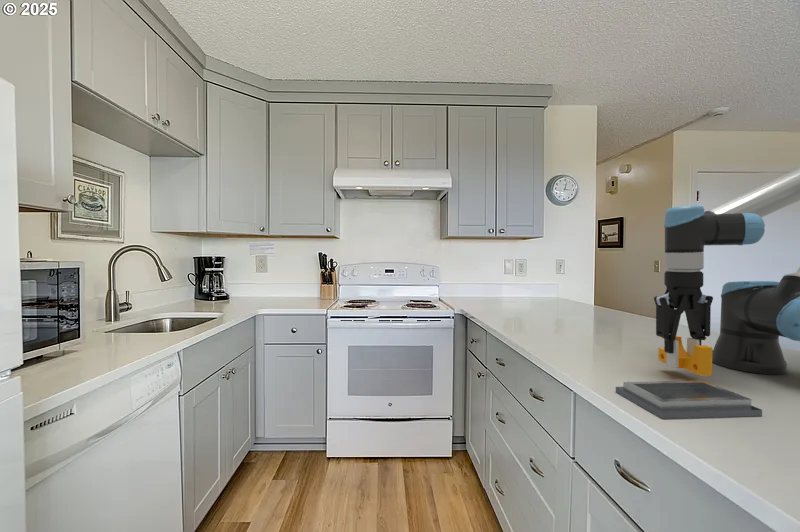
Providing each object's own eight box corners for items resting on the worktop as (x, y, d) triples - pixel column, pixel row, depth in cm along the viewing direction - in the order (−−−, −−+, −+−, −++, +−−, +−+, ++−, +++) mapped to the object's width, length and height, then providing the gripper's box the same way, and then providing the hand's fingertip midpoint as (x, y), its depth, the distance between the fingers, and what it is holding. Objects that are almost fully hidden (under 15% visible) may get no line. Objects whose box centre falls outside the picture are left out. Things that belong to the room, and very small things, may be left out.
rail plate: (700, 390, 83) (700, 378, 83) (761, 416, 70) (762, 402, 70) (615, 392, 81) (615, 380, 81) (662, 419, 68) (663, 404, 68)
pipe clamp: (658, 360, 96) (658, 335, 96) (675, 360, 96) (676, 335, 96) (692, 375, 84) (692, 347, 84) (712, 375, 84) (712, 347, 84)
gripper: (703, 268, 94) (702, 359, 95) (637, 270, 93) (637, 362, 94) (732, 270, 87) (731, 368, 88) (661, 272, 85) (660, 372, 86)
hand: (682, 365), depth 91 cm, fingers closed on pipe clamp, 5 cm apart
